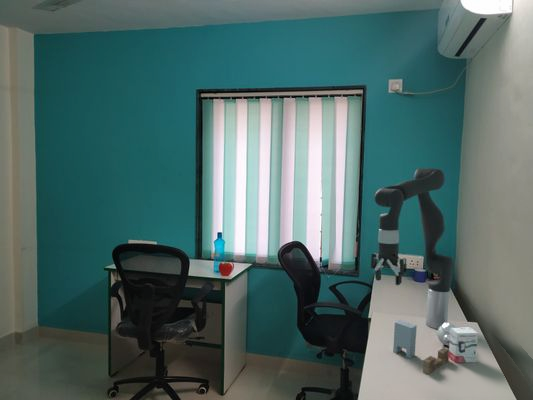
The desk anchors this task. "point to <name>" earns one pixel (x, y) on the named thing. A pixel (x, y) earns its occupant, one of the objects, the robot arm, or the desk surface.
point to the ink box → (463, 344)
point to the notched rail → (435, 361)
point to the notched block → (405, 337)
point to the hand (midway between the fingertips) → (388, 282)
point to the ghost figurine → (445, 333)
